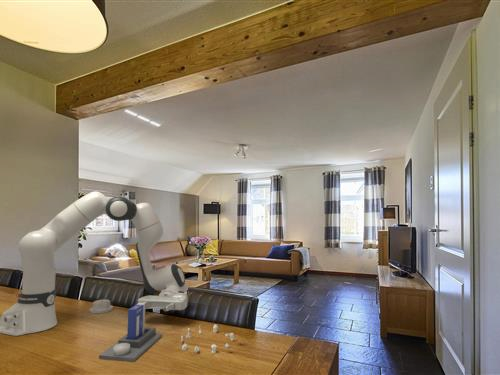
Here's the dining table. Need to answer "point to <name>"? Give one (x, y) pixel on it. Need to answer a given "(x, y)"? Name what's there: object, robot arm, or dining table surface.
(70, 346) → the dining table surface
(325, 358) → the dining table surface
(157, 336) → the housing
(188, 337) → the game piece set
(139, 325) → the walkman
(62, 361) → the dining table surface
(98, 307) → the mechanical component
